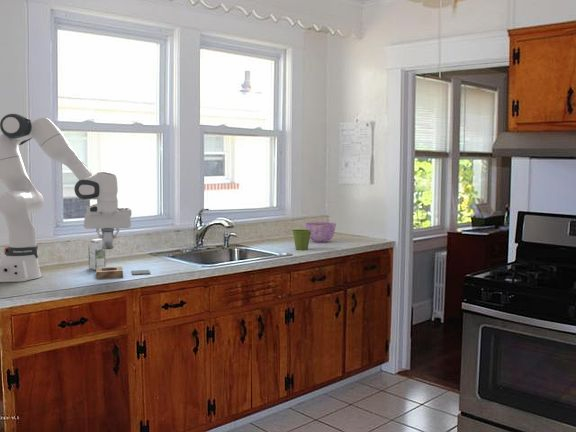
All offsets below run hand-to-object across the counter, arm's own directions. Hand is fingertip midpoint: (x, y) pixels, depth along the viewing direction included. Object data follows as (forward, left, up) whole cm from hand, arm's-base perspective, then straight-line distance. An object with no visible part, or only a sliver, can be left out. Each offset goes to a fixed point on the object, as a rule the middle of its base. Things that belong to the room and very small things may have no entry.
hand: (107, 238), depth 263 cm
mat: (+14, +2, -17) cm, 22 cm away
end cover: (0, 0, -5) cm, 5 cm away
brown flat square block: (0, 0, -17) cm, 17 cm away
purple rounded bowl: (+133, +76, -17) cm, 155 cm away
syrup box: (-5, +20, -17) cm, 27 cm away
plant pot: (+110, +48, -17) cm, 122 cm away
